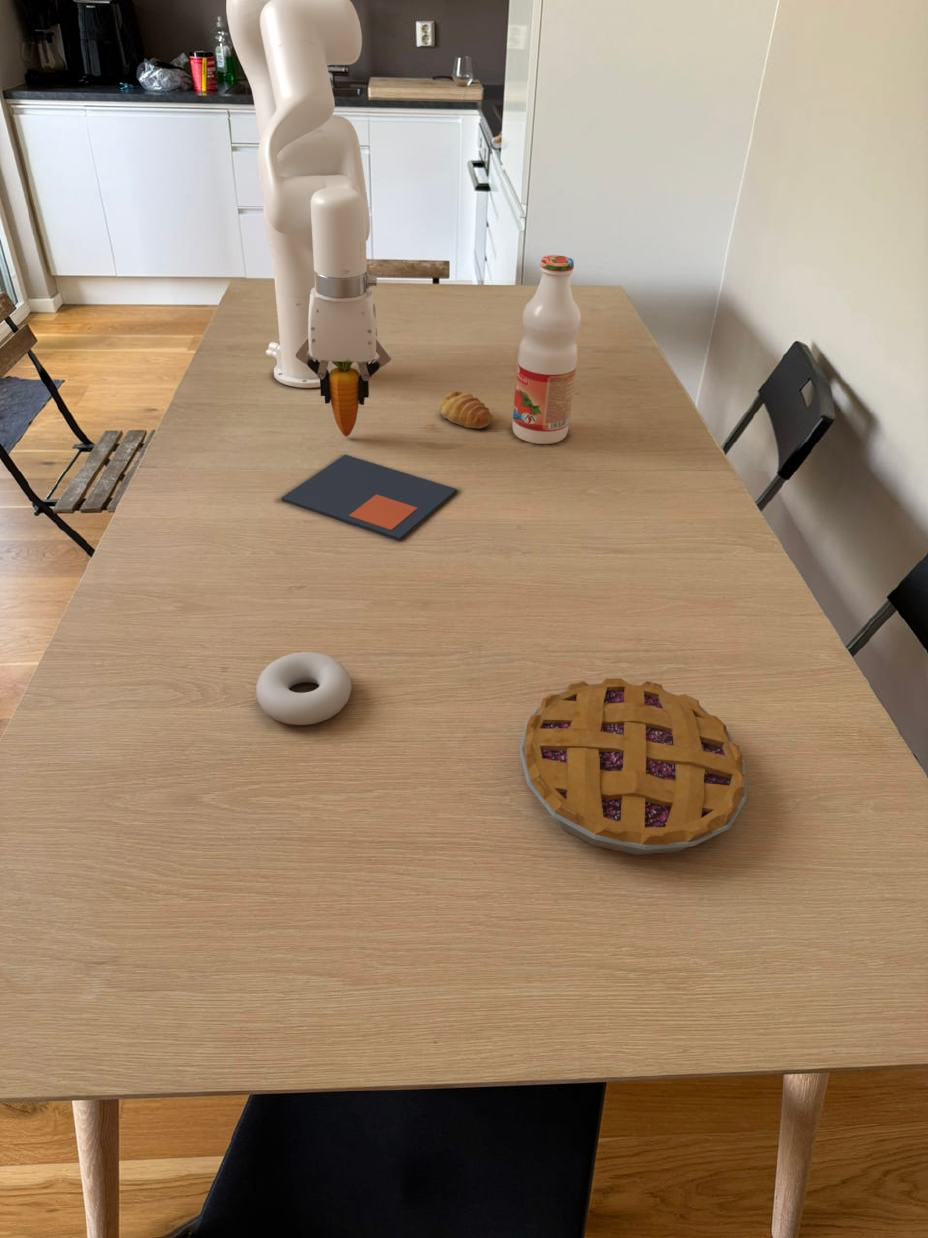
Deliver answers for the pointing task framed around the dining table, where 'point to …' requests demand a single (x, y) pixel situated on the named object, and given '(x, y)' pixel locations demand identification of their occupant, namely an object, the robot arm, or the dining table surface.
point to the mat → (370, 496)
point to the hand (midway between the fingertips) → (345, 399)
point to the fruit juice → (547, 357)
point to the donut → (309, 704)
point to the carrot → (344, 395)
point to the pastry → (465, 410)
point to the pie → (633, 766)
